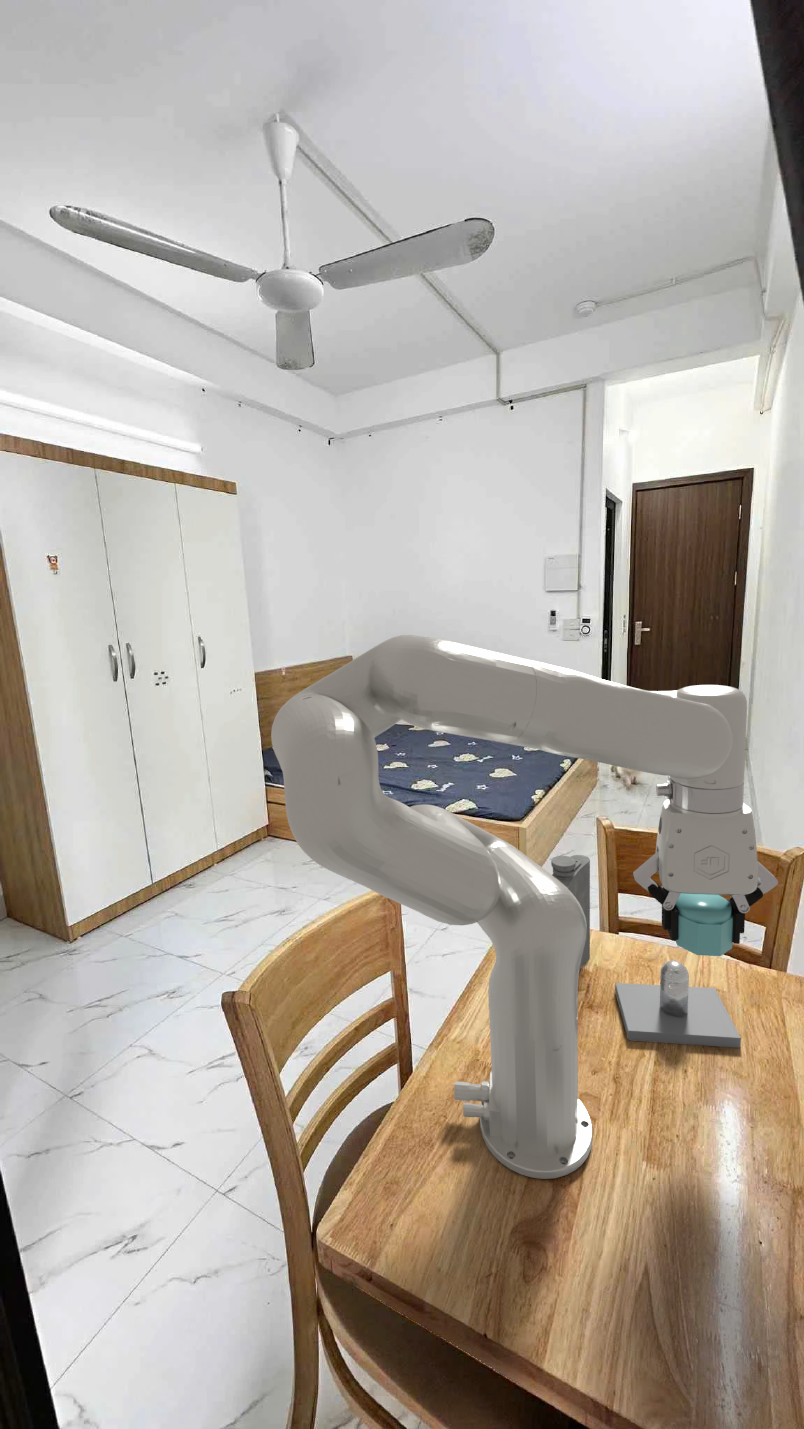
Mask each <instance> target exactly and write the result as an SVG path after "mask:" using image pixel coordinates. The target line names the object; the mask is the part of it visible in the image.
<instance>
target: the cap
mask: <svg viewBox="0 0 804 1429" xmlns="http://www.w3.org/2000/svg"><path fill="white" fill-rule="evenodd" d="M727 900H728V899H726V898H725V897H723V896H722V895H709V894H683V893H681V894H680V896H679V898H678V900H677V902H676V908H677V910H678V913H679V918H678V940H676V941H675V944H676V945H677V946H678V947H679V948H682V949H683V950H686V951H688V952H691V953H692V954H694V955H696V956H709V957H722V956H723V955H724V954H726V953H727V952H729V951H730V950H731V949H733V944H734V943H733V942H732V935H733V916H732V915H731V908H732V907H731V904H730V903H729V902H728V901H727Z"/></svg>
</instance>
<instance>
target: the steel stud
mask: <svg viewBox="0 0 804 1429" xmlns="http://www.w3.org/2000/svg"><path fill="white" fill-rule="evenodd" d="M689 974H690V973H689V969H687V967H686V966H685V965H684V964H683V963H681V961H678V960H673V959H672V960H668V961H665V962H664V963H663V964H662V965H661V968H660V975H659V976H660V979H659V980H660V982H659V985H660V1009H661V1010H662V1011H663V1012H664V1013H665V1014H667V1015H669V1016H672V1017H684V1016H686V1015H687V1013H688V991H689V987H690V984H689V983H690V975H689Z"/></svg>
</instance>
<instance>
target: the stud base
mask: <svg viewBox="0 0 804 1429" xmlns="http://www.w3.org/2000/svg"><path fill="white" fill-rule="evenodd" d="M614 986H615V988H614V991H615V992H614V993H615V995H616V999H617V1000H616V1001H617V1003H618V1007H619V1010H620V1015H621V1017H622V1022H623V1026H624V1030H625V1033H626V1037H627V1040H628V1041H636V1042H637V1041H638V1042H649V1043H664V1044H678V1045H694V1046H708V1047H723V1048H733V1049H734V1048H735V1049H736V1048H737V1049H741V1045H742V1044H741V1041H742V1038H741V1036H740V1034H739V1032H738V1029H737V1028H736V1026H735V1024H734V1022H733V1020H732V1018H731V1016H730V1015H729V1012H728V1010H727V1009H726V1007H725V1004H724V1003H723V1001H722V999H721V997H720V995H719V993H718V991H717V989H716V987H703V986H702V987H700V986H689V991H688V1013H687V1015H686V1016H684V1017H672V1016H669V1015H667V1014H665V1013H664V1012H663V1011H662V1010H661V1009H660V984H646V983H645V984H644V983H628V982H627V983H625V982H624V983H623V982H615V983H614Z"/></svg>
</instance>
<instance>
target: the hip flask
mask: <svg viewBox="0 0 804 1429" xmlns="http://www.w3.org/2000/svg"><path fill="white" fill-rule="evenodd" d="M550 862H551V863H550V864H551V867H552V874H551V875H552V876H554V877H555V878H556V879H558V880H559V881H560V882H561V883H562V884H563V885H565V886H566V887H567V888H568V889H569V891H570V892H571V893H572V894H573V895H574V896H575V898H576V899H577V900H578V902H579V904H580V905H581V907H582V910H583V912H584V915H585V918H586V923H587V934H586V941H585V946H584V950H583V954H582V958H581V963H580V968H579V971H581V969H582V968H583V966H585V964H586V963H587V962H588V961H589V960H590V959H591V953H590V952H591V942H590V941H591V879H590V878H591V859H590V858H589V856H587V855H583V854H574V855H571V856H568V855H557V856H554V857H552V859H551V860H550Z"/></svg>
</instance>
